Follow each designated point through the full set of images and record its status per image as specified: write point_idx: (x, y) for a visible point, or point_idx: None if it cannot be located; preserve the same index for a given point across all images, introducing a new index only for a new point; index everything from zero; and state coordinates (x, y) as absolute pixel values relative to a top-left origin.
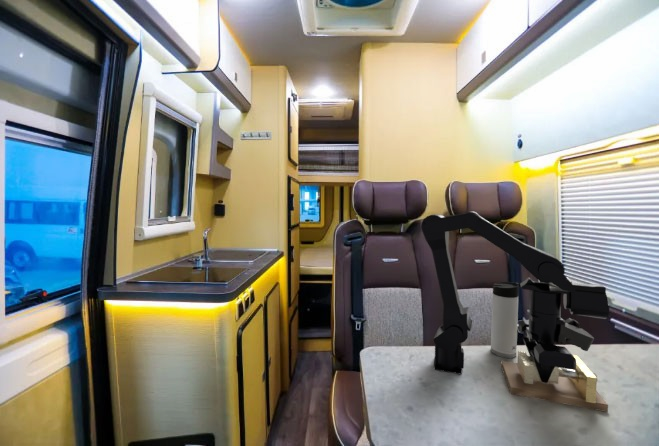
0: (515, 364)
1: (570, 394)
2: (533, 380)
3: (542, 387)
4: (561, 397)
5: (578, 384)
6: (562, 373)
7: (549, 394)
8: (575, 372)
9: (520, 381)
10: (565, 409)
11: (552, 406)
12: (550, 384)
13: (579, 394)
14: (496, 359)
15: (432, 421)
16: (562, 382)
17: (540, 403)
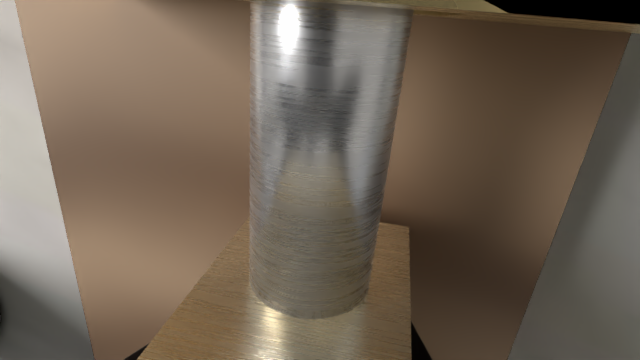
0: (112, 344)
1: (507, 136)
2: None
3: (420, 321)
4: (548, 231)
5: (431, 15)
6: (371, 241)
7: (523, 315)
8: (369, 54)
9: None
10: (622, 214)
11: (581, 287)
12: None
13: (503, 37)
14: (52, 355)
15: None
16: None
17: (545, 343)
